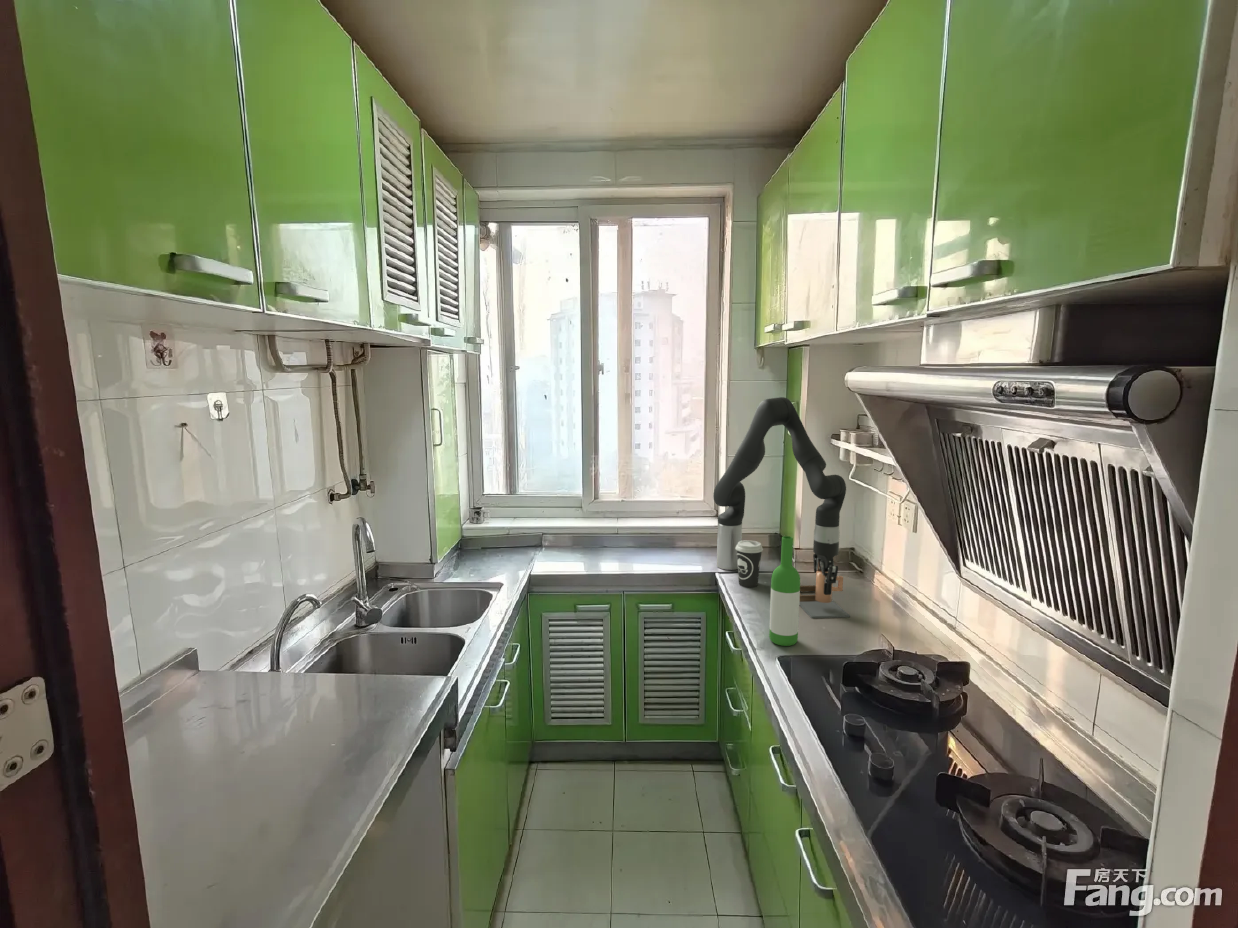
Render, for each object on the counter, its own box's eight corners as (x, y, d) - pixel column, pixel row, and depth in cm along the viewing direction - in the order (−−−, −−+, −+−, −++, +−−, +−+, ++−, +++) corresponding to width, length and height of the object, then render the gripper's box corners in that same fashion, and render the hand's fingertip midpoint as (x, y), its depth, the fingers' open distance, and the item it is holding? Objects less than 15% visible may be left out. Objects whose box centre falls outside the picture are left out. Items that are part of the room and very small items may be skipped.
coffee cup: (762, 589, 210) (763, 547, 208) (734, 587, 212) (735, 546, 210) (761, 580, 219) (762, 540, 217) (734, 578, 221) (735, 538, 219)
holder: (789, 591, 208) (789, 585, 208) (816, 590, 209) (817, 585, 209) (799, 601, 199) (800, 596, 198) (828, 601, 199) (828, 595, 199)
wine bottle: (792, 634, 174) (797, 533, 169) (801, 647, 166) (806, 541, 162) (765, 635, 174) (769, 533, 169) (773, 647, 166) (777, 541, 161)
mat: (797, 603, 198) (797, 601, 197) (833, 602, 198) (833, 600, 198) (811, 618, 186) (811, 616, 186) (849, 617, 186) (849, 615, 186)
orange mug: (818, 602, 189) (820, 575, 187) (812, 597, 194) (813, 570, 192) (844, 602, 189) (846, 574, 188) (837, 596, 194) (839, 569, 193)
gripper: (806, 533, 195) (803, 583, 198) (823, 545, 181) (821, 599, 184) (828, 532, 196) (826, 583, 198) (848, 545, 182) (845, 599, 184)
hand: (823, 590), depth 191 cm, fingers closed on orange mug, 5 cm apart
